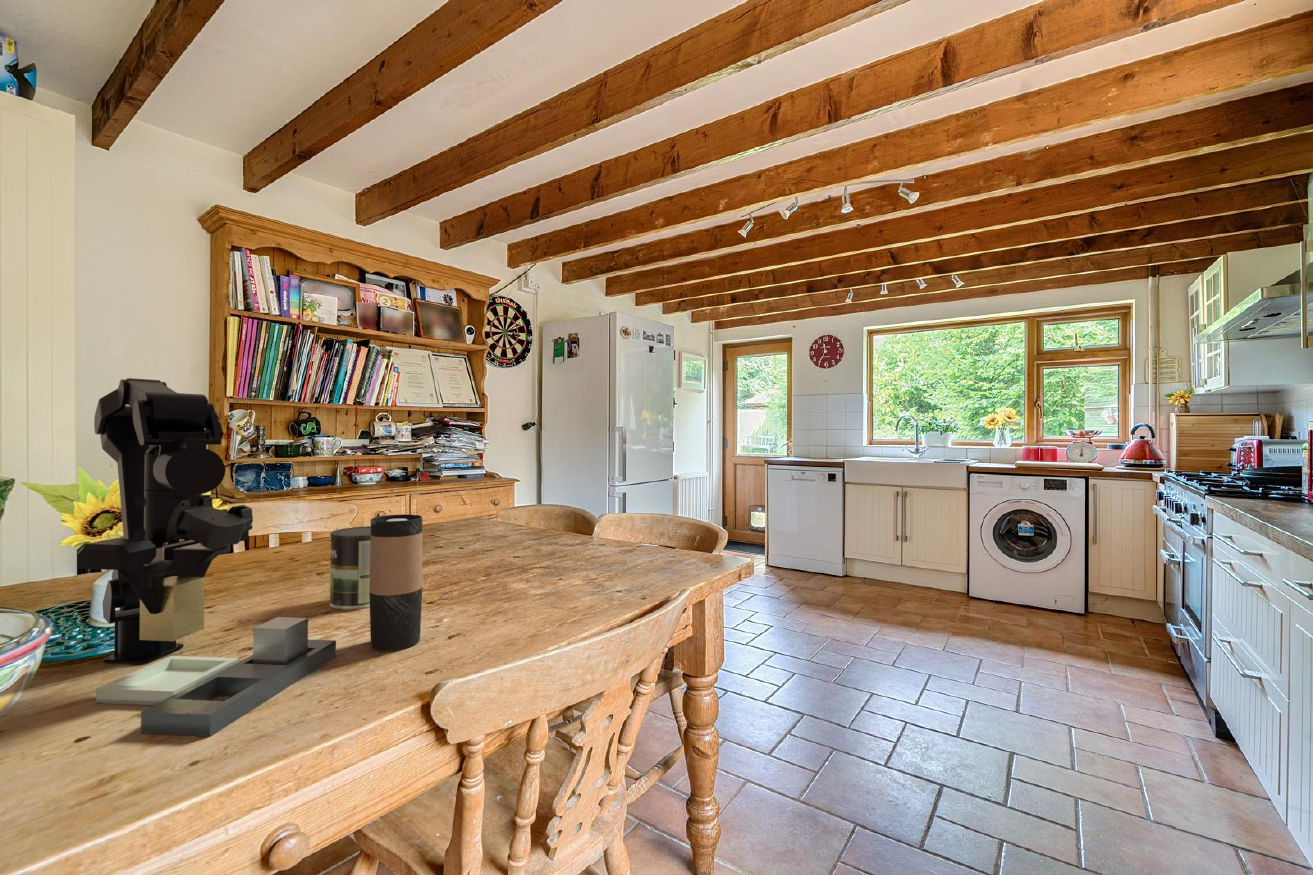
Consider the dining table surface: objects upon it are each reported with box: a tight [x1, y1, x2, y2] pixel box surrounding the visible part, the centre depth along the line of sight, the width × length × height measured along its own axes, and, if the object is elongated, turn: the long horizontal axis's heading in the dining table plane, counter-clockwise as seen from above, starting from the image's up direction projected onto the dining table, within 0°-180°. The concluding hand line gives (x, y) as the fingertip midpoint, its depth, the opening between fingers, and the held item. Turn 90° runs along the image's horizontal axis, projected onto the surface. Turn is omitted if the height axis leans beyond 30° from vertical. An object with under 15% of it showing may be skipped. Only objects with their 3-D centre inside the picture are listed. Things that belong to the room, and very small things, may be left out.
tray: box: [95, 655, 241, 706], centre depth 73 cm, size 10×10×2 cm
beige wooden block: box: [140, 576, 205, 641], centre depth 73 cm, size 4×4×7 cm
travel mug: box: [369, 514, 423, 652], centre depth 89 cm, size 8×8×20 cm
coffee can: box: [329, 525, 371, 611], centre depth 110 cm, size 10×10×14 cm
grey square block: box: [252, 616, 309, 665], centre depth 77 cm, size 4×4×7 cm
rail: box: [140, 639, 337, 738], centre depth 72 cm, size 8×22×2 cm, turn 177°
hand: (172, 607), depth 73 cm, fingers closed on beige wooden block, 4 cm apart
